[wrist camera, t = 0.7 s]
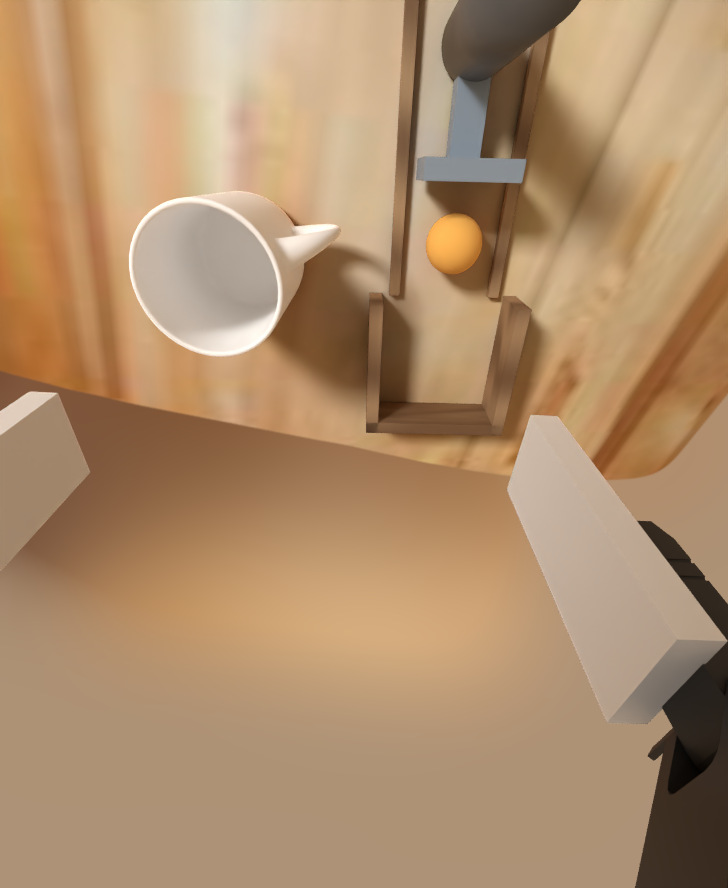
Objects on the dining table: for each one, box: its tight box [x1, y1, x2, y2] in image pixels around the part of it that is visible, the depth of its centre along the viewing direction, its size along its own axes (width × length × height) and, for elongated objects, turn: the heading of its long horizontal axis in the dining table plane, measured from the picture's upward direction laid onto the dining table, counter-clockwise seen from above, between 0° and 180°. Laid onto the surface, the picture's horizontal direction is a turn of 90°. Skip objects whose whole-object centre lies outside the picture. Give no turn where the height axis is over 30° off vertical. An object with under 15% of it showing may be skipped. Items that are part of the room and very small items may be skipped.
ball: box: [426, 213, 482, 274], centre depth 30 cm, size 4×4×4 cm
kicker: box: [416, 0, 581, 183], centre depth 22 cm, size 9×6×12 cm, turn 179°
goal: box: [366, 293, 532, 436], centre depth 35 cm, size 11×12×4 cm
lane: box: [389, 0, 550, 298], centre depth 28 cm, size 21×9×1 cm, turn 179°
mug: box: [129, 191, 341, 357], centre depth 28 cm, size 9×12×11 cm
